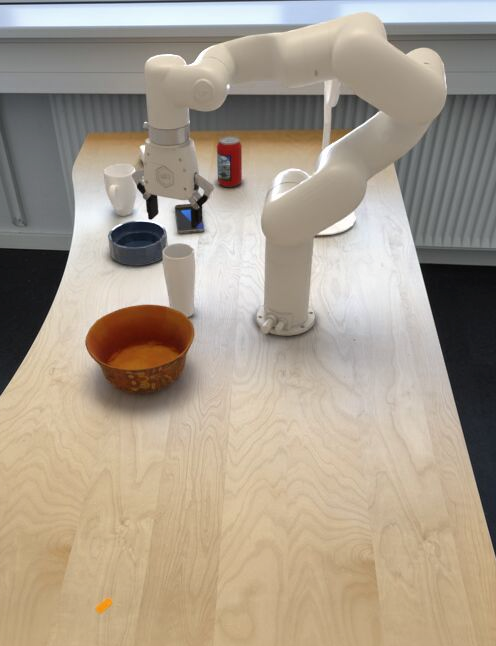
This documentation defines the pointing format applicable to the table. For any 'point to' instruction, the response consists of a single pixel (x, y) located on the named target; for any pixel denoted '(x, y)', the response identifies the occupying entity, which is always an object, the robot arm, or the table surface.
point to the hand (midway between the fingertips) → (174, 221)
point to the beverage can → (229, 161)
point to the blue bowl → (137, 242)
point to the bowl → (141, 346)
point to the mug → (121, 187)
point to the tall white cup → (180, 276)
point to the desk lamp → (330, 101)
